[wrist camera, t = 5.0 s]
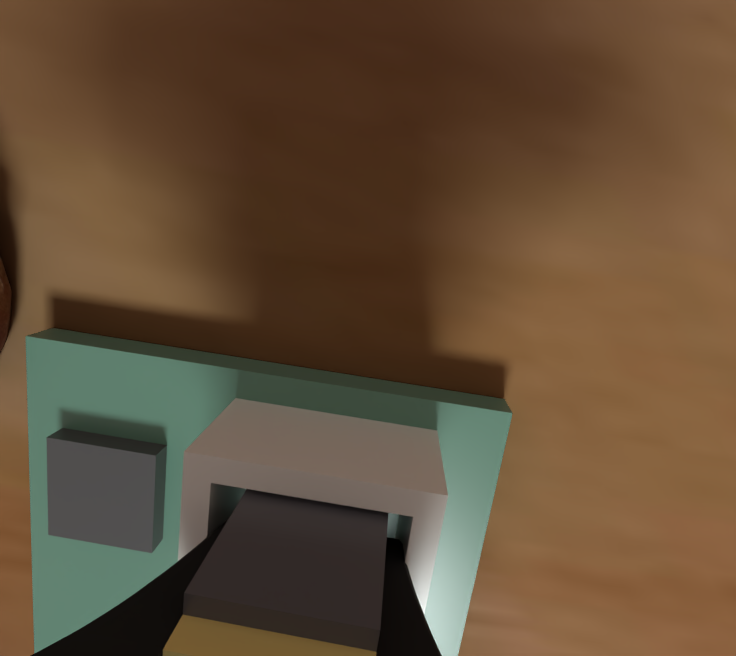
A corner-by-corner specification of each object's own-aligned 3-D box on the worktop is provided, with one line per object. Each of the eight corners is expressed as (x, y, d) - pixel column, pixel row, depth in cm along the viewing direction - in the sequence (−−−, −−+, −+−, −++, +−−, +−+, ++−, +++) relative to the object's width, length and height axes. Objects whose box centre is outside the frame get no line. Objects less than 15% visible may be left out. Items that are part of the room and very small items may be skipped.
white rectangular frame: (399, 630, 14) (398, 741, 11) (219, 598, 14) (170, 698, 11) (437, 430, 12) (448, 495, 9) (235, 397, 12) (183, 451, 9)
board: (412, 819, 16) (413, 922, 14) (58, 750, 17) (1, 838, 15) (504, 399, 13) (527, 439, 10) (52, 328, 13) (-25, 350, 11)
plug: (369, 591, 13) (340, 871, 7) (262, 571, 13) (155, 831, 7) (392, 460, 12) (377, 668, 6) (275, 440, 12) (162, 626, 6)
